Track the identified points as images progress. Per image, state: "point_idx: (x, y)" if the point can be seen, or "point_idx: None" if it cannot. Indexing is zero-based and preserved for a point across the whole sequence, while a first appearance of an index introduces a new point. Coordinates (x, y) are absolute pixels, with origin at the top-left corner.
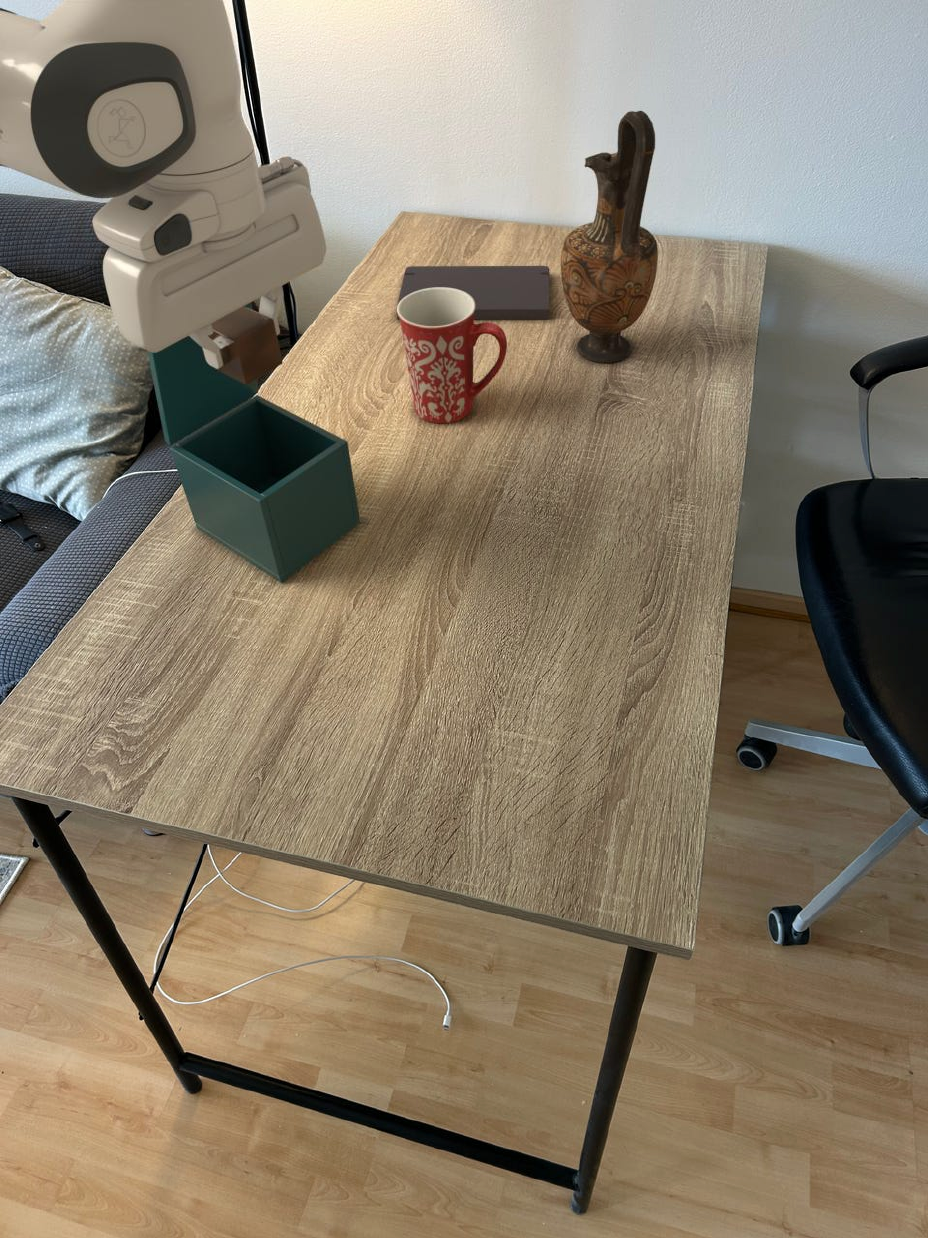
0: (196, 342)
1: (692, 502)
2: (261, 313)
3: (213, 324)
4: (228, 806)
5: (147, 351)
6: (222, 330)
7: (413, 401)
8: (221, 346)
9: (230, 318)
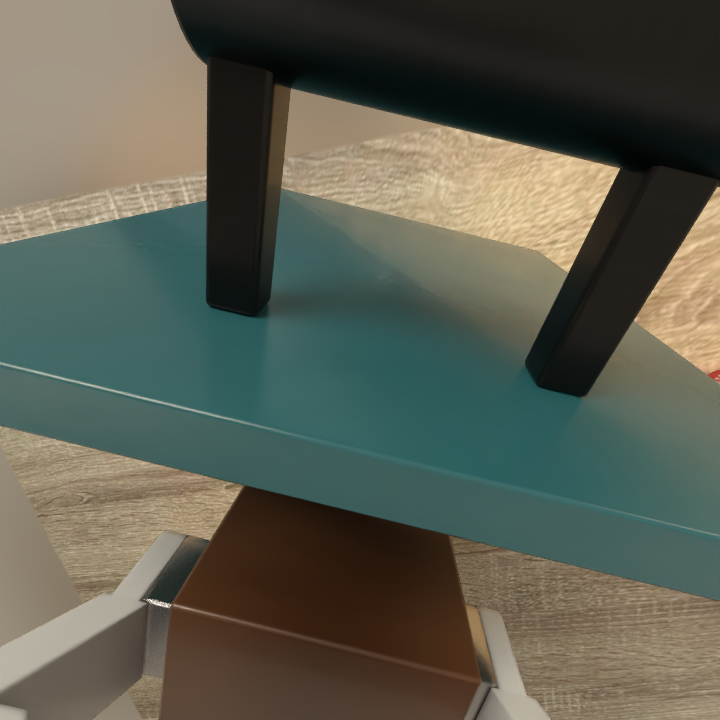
0: (66, 612)
1: (584, 706)
2: (491, 710)
3: (206, 656)
4: (48, 491)
5: (51, 234)
6: (186, 716)
7: (717, 382)
8: (163, 664)
9: (309, 702)
